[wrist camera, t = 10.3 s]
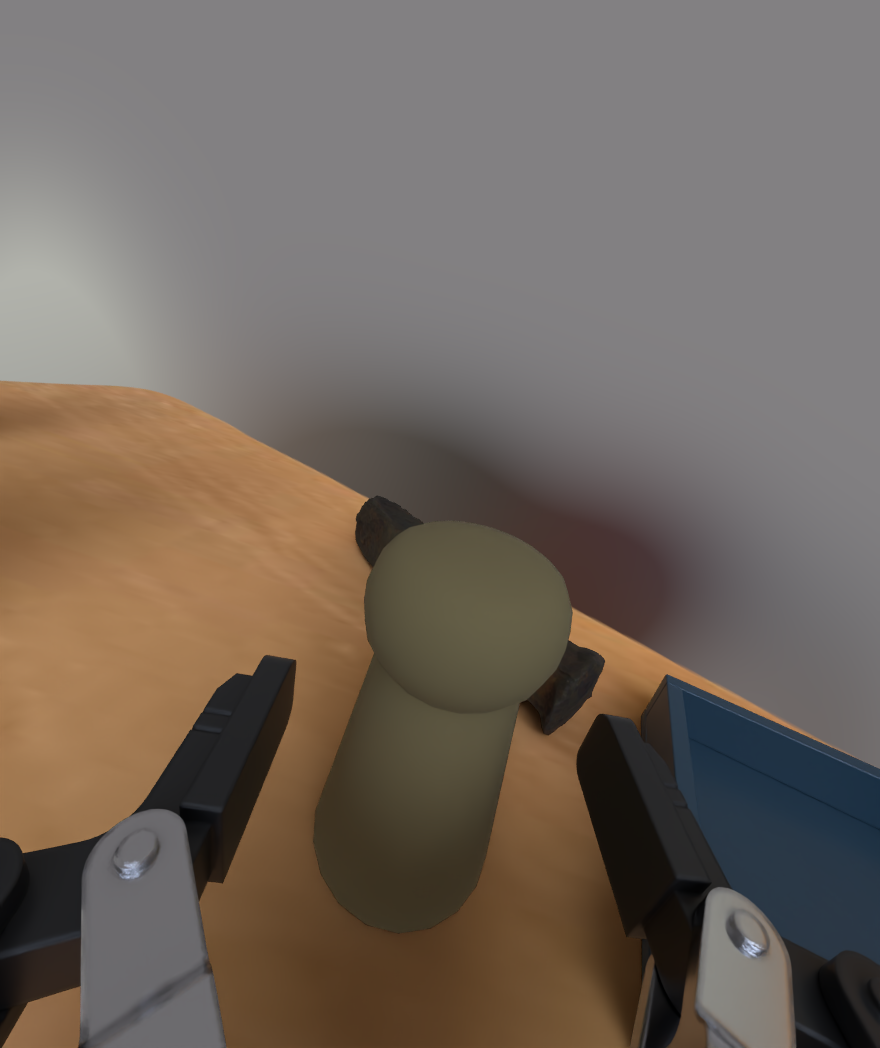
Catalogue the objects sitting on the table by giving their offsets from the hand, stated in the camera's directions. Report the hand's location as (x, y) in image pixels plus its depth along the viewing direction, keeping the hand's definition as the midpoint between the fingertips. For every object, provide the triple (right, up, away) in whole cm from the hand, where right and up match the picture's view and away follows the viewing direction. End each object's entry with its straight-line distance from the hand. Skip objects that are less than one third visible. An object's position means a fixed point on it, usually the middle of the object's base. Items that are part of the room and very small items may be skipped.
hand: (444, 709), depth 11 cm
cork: (-1, -6, +4) cm, 7 cm away
